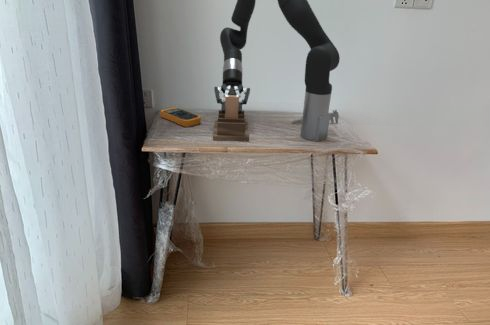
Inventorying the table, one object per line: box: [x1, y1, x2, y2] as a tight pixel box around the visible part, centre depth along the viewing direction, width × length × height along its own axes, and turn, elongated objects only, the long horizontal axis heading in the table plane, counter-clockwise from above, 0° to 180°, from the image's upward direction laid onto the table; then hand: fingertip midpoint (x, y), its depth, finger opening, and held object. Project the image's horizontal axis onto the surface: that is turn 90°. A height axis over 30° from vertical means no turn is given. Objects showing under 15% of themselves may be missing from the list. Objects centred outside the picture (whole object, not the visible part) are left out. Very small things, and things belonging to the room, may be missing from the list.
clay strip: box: [225, 95, 239, 119], centre depth 135 cm, size 2×5×11 cm, turn 92°
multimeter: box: [160, 106, 202, 128], centre depth 148 cm, size 9×18×3 cm, turn 46°
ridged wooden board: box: [212, 109, 250, 142], centre depth 137 cm, size 19×13×6 cm
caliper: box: [290, 109, 340, 125], centre depth 152 cm, size 20×1×6 cm, turn 97°
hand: (231, 112), depth 134 cm, fingers closed on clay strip, 5 cm apart
